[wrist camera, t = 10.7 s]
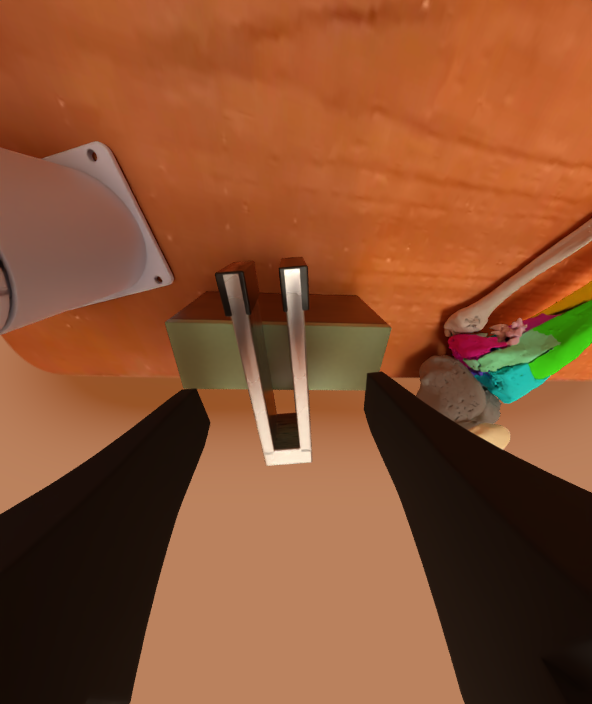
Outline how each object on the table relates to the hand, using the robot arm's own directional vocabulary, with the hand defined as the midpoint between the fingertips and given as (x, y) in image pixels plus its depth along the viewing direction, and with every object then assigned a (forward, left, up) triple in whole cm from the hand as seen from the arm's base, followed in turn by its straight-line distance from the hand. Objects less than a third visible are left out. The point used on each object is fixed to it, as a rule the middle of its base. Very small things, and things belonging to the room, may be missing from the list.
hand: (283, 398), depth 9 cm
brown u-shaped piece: (0, 0, -4) cm, 4 cm away
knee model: (+20, -6, -5) cm, 22 cm away
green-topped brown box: (0, 0, -10) cm, 10 cm away
